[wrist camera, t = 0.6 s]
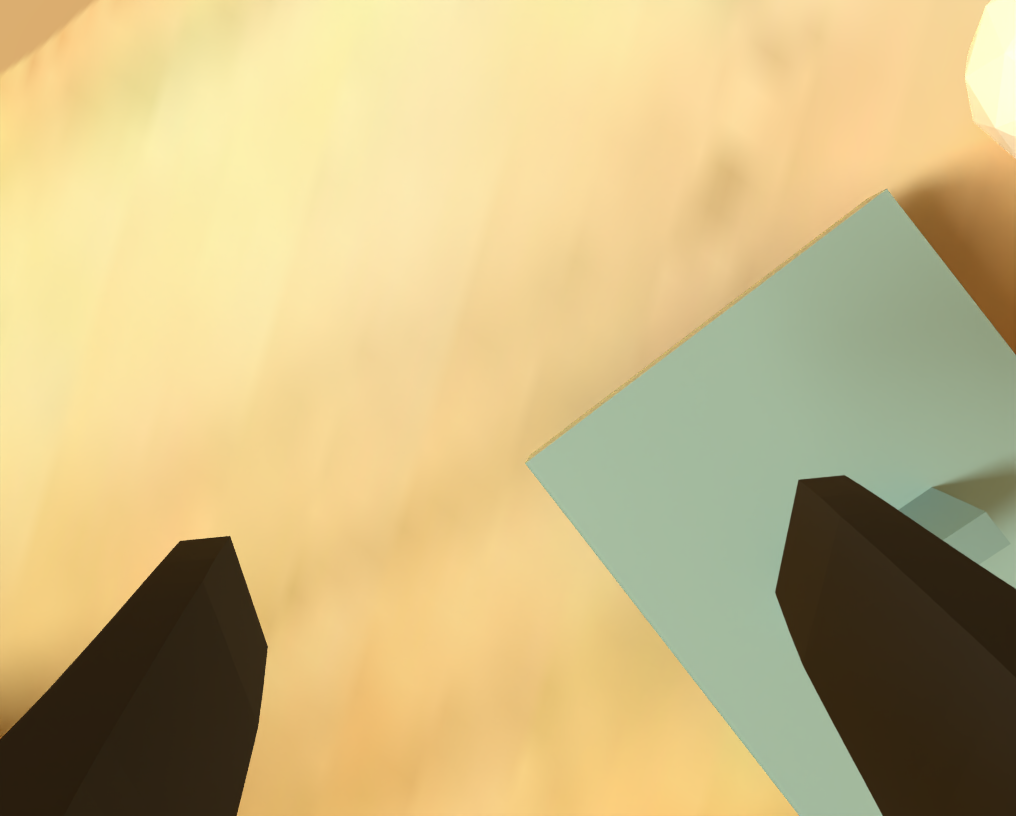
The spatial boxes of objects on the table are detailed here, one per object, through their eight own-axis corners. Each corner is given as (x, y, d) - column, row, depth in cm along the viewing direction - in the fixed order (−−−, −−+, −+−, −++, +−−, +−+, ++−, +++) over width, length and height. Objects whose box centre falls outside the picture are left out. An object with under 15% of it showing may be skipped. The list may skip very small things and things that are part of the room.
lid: (1199, 626, 26) (1352, 700, 21) (834, 848, 29) (888, 963, 24) (867, 198, 26) (935, 163, 21) (529, 455, 29) (514, 482, 24)
